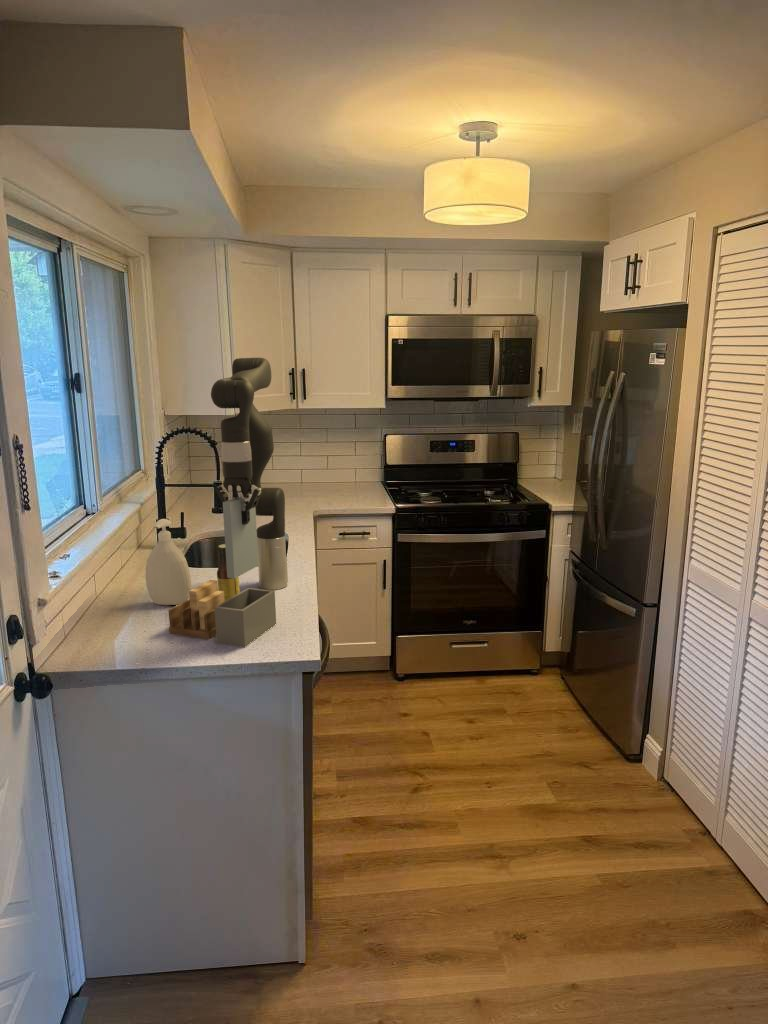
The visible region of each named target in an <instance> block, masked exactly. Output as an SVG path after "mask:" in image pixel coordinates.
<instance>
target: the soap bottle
mask: <svg viewBox="0 0 768 1024" xmlns="http://www.w3.org/2000/svg"><path fill="white" fill-rule="evenodd" d="M172 525H173V524H172V522H171V520H169V519H168V518H161V519H158V520H157V521H156V522H155V524H154V526H153V528H154V529H160V528H161V530H160V531H159V533H157V538H158V539H157V540H158V541H157V544H156V545H155V546H154V547H153V549H152V550H151V551H150V553H149V556H148V558H147V559H146V565H145V583H146V584H145V585H146V588H147V592H148V595H149V597H150V598H151V600H152V602H153V603H155V604H156V605H161V606H167V605H179V604H180V603H182V602H184V601H186V600H188V599H189V598H190V595H189V591H190V590H192V580H191V579H192V577H191V573H190V572H191V571H190V568H189V565H188V561H187V559H186V557H185V555H184V554H183V552H182V551H181V550H180V548H179V547H178V546H177V545H176V544H175V543H174V542H173V540H172V533H171V532H170V531H169V530H167V528H166V527H170V526H172Z"/></svg>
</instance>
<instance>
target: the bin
mask: <svg viewBox="0 0 768 1024" xmlns="http://www.w3.org/2000/svg"><path fill="white" fill-rule="evenodd" d="M214 609H215V623H216V636H215V637H216V643H217V644H219V645H220V644H221V645H227V646H233V647H234V646H235V647H240V646H241V647H242V648H246V647H248V646H249V645H250V644H251V643H250V642H252V641H253V640H254V639H256V638H257V637H259V636H260V635H261V634H263V633H264V632H265V631H267V630H268V629H269V630H271V629H272V628H274V627H275V626H276V625H277V610H276V609H277V608H276V591H275V590H266V589H262V588H260V589H259V588H253V587H252V588H251V587H247V588H245V589H243V590H242V591H240V593H238V594H237V595H235V596H233V597H231V598H230V599H228V600H226V601H224V602H223V603H221V604H219V605H218V606H216V607H214ZM275 624H276V625H275ZM274 625H275V626H274ZM273 626H274V627H273ZM271 627H272V628H271ZM270 628H271V629H270ZM269 630H268V631H269ZM268 631H267V632H268ZM265 633H266V632H265ZM265 633H264V634H265ZM264 634H263V635H264ZM261 636H262V635H261ZM261 636H260V637H261ZM260 637H259V638H260ZM257 639H258V638H257ZM257 639H256V640H257ZM254 641H255V640H254ZM254 641H253V642H254ZM253 642H252V643H253ZM249 643H250V644H249ZM248 644H249V645H248ZM247 645H248V646H247ZM245 646H246V647H245Z"/></svg>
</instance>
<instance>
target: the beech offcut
mask: <svg viewBox="0 0 768 1024" xmlns="http://www.w3.org/2000/svg"><path fill="white" fill-rule="evenodd" d="M224 601H225V599H224V591H216V592H214V593H212V594H210V595H208V596H207V597H205V598H203V599H201V600H199V601H198V605H199V619H200V629H204V630H205V623H204V614H206V613H207V612H209V611H211V610H213V609H214V607H216V606H218V605H219V604H221V603H223V602H224Z"/></svg>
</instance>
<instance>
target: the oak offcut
mask: <svg viewBox="0 0 768 1024" xmlns="http://www.w3.org/2000/svg"><path fill="white" fill-rule="evenodd" d="M216 591H218V581H217V580H215V579H209V580H207V581H206V582H203V583H201V584H200V585H197V586H196V587H193V588H191V590H190V591H189V595H190V596H189V599H190V608H191V621H192V613H193V612H194V611H196V610H198V609H199V605H198V601H199V600H201V599H203V598H205V597H207V596H208V595H210V594H212V593H214V592H216ZM192 625H193V621H192Z"/></svg>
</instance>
